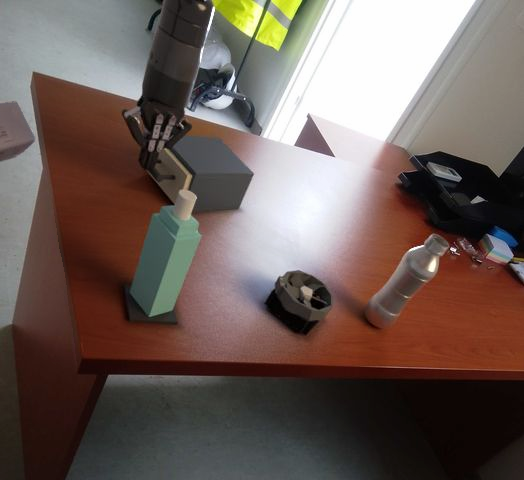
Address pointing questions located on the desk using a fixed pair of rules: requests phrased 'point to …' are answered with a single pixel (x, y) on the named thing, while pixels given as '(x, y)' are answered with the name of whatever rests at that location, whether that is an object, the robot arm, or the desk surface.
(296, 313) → the cpu cooler
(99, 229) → the desk surface
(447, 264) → the desk surface
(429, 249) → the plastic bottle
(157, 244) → the soap bottle
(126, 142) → the desk surface
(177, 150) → the cabinet
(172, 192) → the drawer
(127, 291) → the mat
